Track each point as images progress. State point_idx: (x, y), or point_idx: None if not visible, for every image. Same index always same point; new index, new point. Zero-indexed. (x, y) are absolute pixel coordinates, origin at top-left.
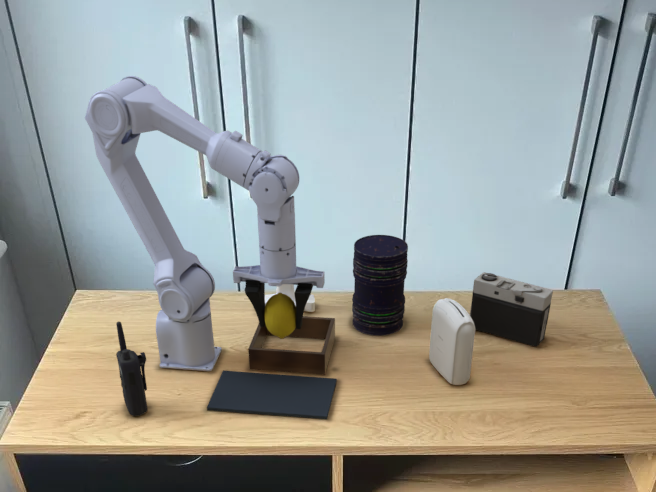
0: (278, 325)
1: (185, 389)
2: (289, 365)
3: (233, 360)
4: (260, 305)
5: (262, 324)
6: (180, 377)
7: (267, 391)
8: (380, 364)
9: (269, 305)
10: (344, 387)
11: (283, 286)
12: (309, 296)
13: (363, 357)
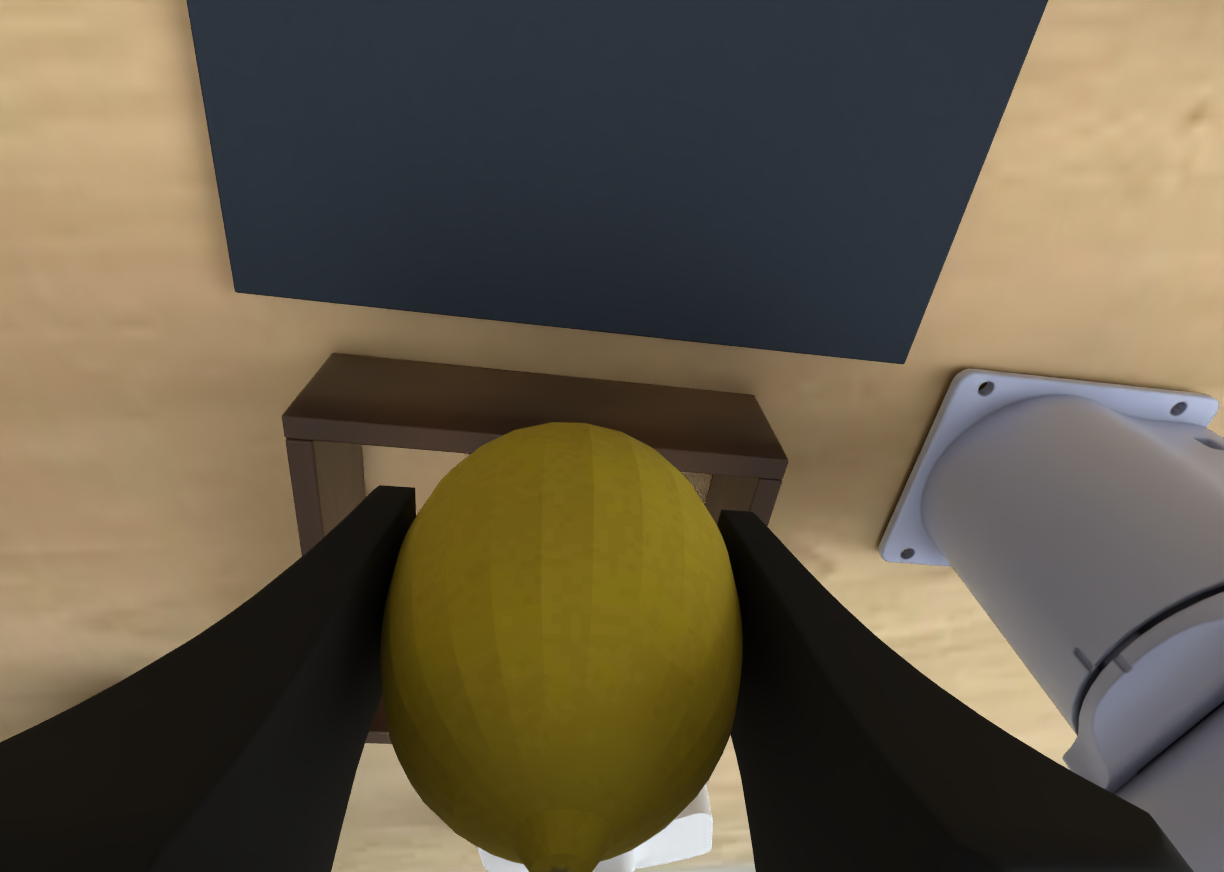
0: (577, 455)
1: (1141, 181)
2: (533, 392)
3: (828, 474)
4: (822, 668)
5: (740, 521)
6: (1130, 312)
7: (655, 122)
8: (55, 464)
9: (699, 677)
10: (175, 219)
11: None
12: (502, 862)
13: (173, 521)
